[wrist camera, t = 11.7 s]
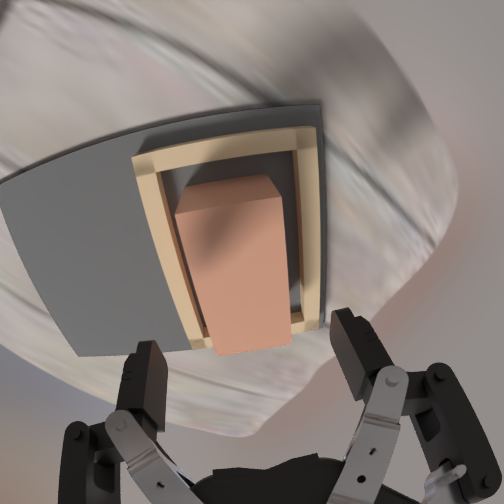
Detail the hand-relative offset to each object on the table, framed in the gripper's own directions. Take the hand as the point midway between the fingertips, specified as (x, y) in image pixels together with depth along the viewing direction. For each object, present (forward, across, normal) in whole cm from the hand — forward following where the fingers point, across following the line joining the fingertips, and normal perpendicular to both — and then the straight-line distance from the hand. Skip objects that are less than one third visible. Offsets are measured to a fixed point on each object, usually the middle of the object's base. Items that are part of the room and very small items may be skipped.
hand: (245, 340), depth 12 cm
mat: (+9, +5, 0) cm, 10 cm away
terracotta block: (+8, 0, 0) cm, 8 cm away
